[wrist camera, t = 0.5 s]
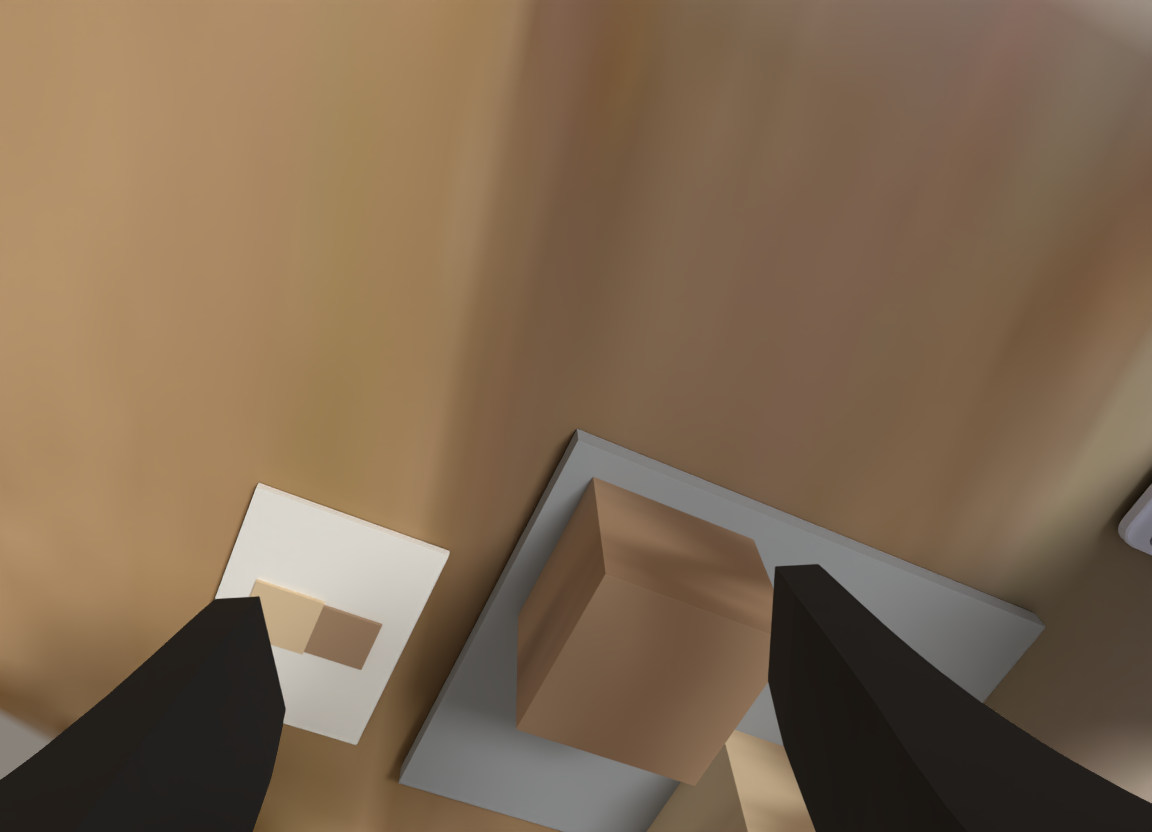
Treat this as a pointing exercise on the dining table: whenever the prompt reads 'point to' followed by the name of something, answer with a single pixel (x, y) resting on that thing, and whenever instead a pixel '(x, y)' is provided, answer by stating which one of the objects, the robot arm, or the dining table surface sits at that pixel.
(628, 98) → the dining table surface
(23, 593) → the dining table surface
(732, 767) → the oak block
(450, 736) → the mat
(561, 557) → the walnut block
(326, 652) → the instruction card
